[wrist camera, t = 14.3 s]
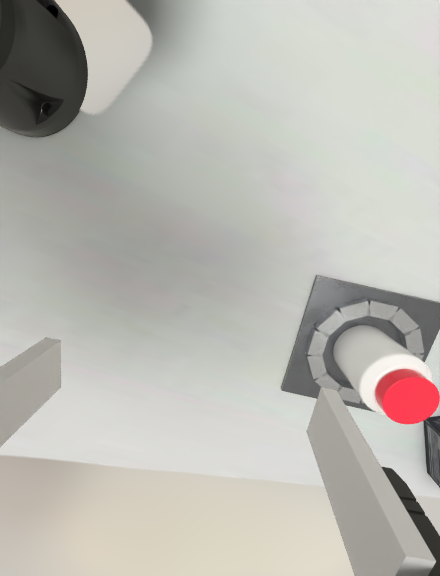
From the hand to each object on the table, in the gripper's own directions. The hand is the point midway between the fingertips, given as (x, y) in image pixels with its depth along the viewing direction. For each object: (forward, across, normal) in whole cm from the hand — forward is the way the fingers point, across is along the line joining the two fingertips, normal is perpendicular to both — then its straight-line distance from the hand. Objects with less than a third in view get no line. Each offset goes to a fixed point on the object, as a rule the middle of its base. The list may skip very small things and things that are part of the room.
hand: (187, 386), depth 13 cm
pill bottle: (+23, +22, -7) cm, 33 cm away
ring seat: (+24, +22, -7) cm, 33 cm away
